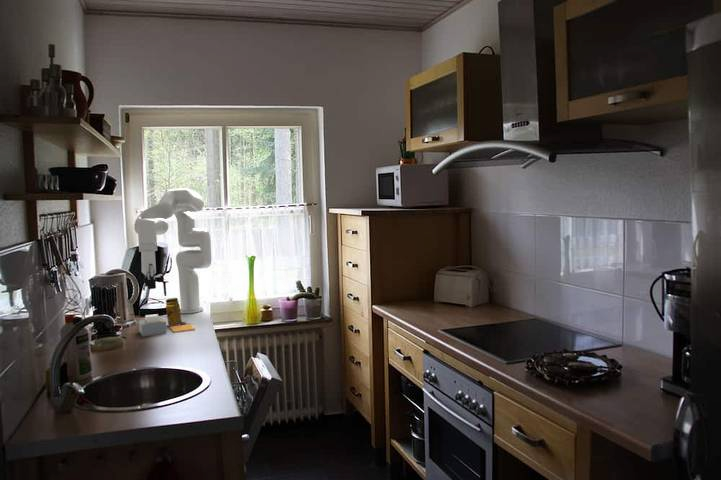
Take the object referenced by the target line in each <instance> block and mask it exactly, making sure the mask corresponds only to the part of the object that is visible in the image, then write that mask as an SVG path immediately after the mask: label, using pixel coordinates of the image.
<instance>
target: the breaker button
mask: <svg viewBox="0 0 721 480" xmlns="http://www.w3.org/2000/svg"><path fill="white" fill-rule="evenodd" d="M144 318H145V319H144V320H145V321H146V323H152V322H159V318H160V316H159V314H158V313H156V314H155V313H154V314H146V315H145V316H144Z"/></svg>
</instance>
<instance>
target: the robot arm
mask: <svg viewBox="0 0 721 480" xmlns="http://www.w3.org/2000/svg"><path fill="white" fill-rule="evenodd" d="M203 208H204V200H203V198H202V196H201V195H200V194H199V193H198V192H196V191H194V190H191V188H190V189H189V188H175V189H173V188H172V189H168V190H166V192H165V193H164V194H163V195H162V197H161V198H160V200H159V201H158V203H157V204H155V205H152V206H151V207H148V208H146V209H144V210H143V211H142V212H140V214H139V215H138V216H137V218H136V219H135V222H134V224H133V227H134V231H135V233H136V234H137V235H138V236H137V237H138V240H137V241H138V252H140V254H141V256H140V258H141V259H140V261H141V273H142V274H143V275H144V285H145V287H147V289H148V290H154V289H156V288H157V285H156V284H157V283H156V276H155V274H156V273H157V266H156V265H157V264H156V251H158V238H157V237H158V235H165V234H166V233H167V232H168V230H169V223H168V221H167V219H170V218H172V217H173V215H174V216H175V218H176V222H177V238H178V239H177V241H178V245H179V246H180V247H181V248H199V249H185V250H180V251H179V252H177V254H176V255H175V262H176V266H177V272H178V283H179V298H180V299H179V302H180V303H179V305H180V312H181V314H194V313H195V314H196V313H200V312H202V311H204V308H203V307H202V306H200V304H201V303H200V301H201V300H200V285H199V283H200V282H199V276H198V273H197V272H196V271H195V270H194V269H208V268H210V267H211V265H212V243H211V241H212V240H211V234H210V232H209V230H207V229H206V228H196V223H195V222H196V220H195V219H196V218H195V217H194V215H193V214H192V213H196V212H201V211H202V210H203ZM191 212H192V213H191Z"/></svg>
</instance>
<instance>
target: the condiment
mask: <svg viewBox="0 0 721 480" xmlns="http://www.w3.org/2000/svg"><path fill="white" fill-rule="evenodd" d="M180 309H181V305H180V303H179V299H178V298H177V297H173V298H168V299H166V300H165V310H166V311H165V312H166V318H167V324H168V325H167V324H166V327H171V326H179V325H184V323H185V324H186V323H187V322H188V320H187V321H183V319H182V313H181V312H180Z"/></svg>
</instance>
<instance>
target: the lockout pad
mask: <svg viewBox="0 0 721 480" xmlns="http://www.w3.org/2000/svg"><path fill="white" fill-rule="evenodd" d="M169 329H170V330H171V331H172V332H173V333H182V332H183V333H184V332H190V331H196V328H195V327H194V326H193V325H192V324H190V323H187V324H180V325H175V326H169Z"/></svg>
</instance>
